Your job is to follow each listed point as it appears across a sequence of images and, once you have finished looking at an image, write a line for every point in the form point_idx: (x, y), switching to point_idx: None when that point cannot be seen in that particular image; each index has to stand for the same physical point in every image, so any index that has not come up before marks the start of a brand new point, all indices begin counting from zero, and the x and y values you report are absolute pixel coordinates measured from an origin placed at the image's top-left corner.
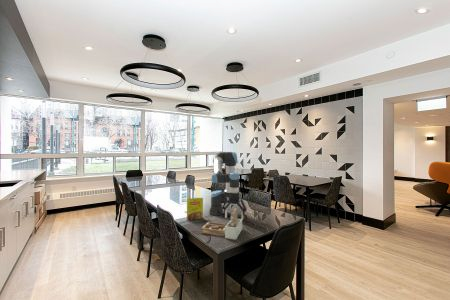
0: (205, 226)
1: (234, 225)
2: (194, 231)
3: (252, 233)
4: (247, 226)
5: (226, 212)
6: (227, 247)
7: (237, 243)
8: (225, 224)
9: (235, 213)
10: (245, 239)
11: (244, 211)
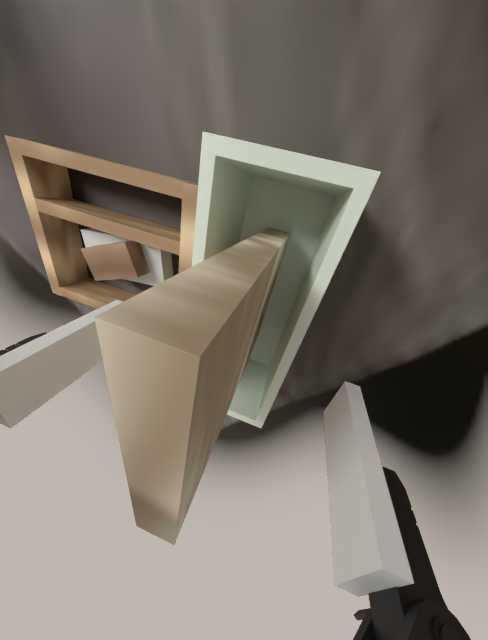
0: (53, 250)
1: (251, 344)
2: (42, 260)
3: (432, 284)
4: (466, 35)
5: (62, 367)
6: (237, 420)
7: (281, 401)
8: (167, 194)
9: (215, 414)
10: (334, 371)
11: (439, 596)
